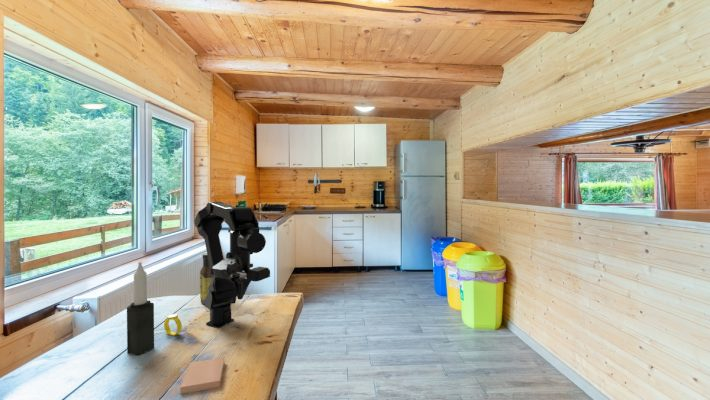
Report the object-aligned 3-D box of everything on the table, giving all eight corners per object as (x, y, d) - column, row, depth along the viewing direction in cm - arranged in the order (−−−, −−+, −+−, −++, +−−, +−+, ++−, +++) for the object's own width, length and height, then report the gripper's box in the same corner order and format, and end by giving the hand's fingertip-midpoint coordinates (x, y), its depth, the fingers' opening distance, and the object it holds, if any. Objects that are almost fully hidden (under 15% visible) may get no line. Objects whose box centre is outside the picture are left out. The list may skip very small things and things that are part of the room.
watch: (162, 335, 93) (161, 316, 93) (170, 331, 96) (169, 313, 96) (176, 337, 91) (175, 318, 91) (184, 333, 94) (183, 314, 94)
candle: (156, 347, 85) (155, 260, 85) (138, 356, 81) (137, 264, 80) (143, 344, 87) (142, 259, 86) (125, 352, 82) (124, 263, 82)
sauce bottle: (203, 299, 123) (202, 251, 123) (219, 298, 124) (219, 251, 124) (197, 305, 117) (197, 255, 116) (214, 304, 118) (214, 254, 117)
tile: (190, 362, 75) (180, 387, 66) (224, 357, 78) (219, 380, 68) (190, 370, 75) (180, 396, 66) (224, 364, 78) (219, 389, 68)
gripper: (195, 250, 87) (195, 303, 87) (243, 256, 79) (243, 314, 80) (225, 244, 97) (225, 291, 97) (271, 249, 90) (271, 300, 90)
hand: (240, 299), depth 91 cm, fingers closed
